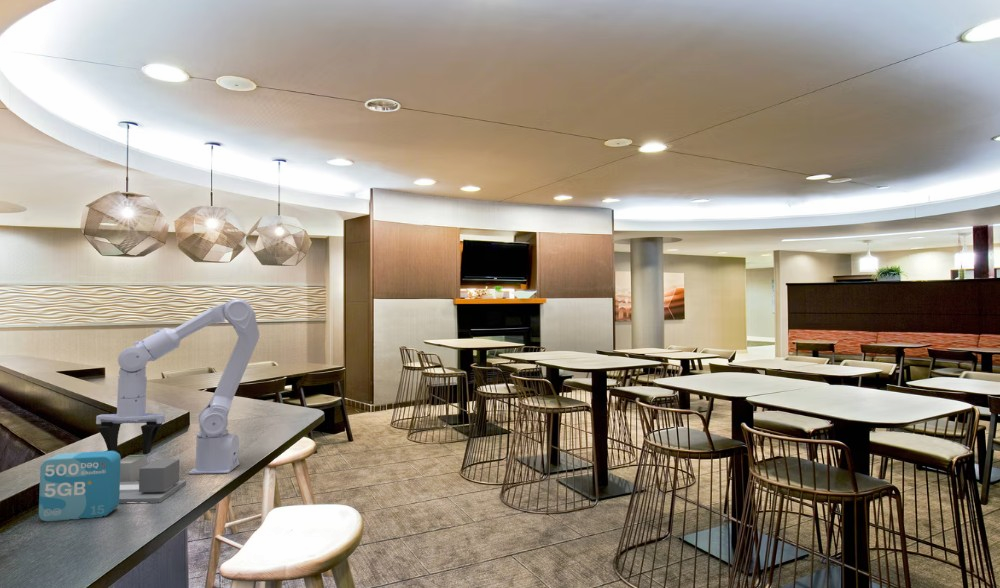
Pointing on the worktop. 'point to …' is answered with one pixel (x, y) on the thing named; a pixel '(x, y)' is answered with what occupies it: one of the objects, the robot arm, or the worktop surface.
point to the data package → (79, 485)
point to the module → (131, 467)
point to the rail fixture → (153, 483)
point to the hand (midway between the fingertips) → (129, 453)
